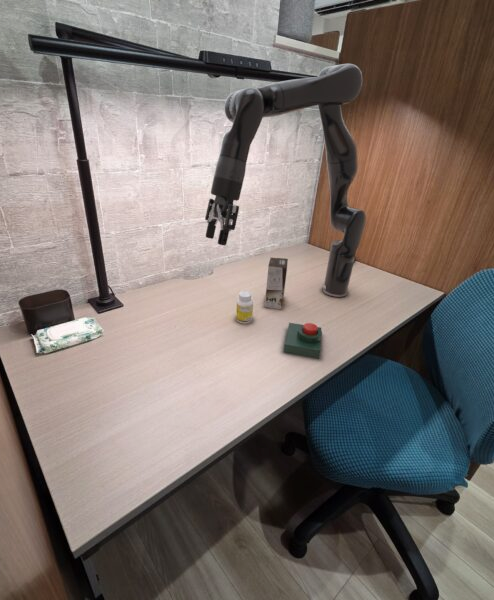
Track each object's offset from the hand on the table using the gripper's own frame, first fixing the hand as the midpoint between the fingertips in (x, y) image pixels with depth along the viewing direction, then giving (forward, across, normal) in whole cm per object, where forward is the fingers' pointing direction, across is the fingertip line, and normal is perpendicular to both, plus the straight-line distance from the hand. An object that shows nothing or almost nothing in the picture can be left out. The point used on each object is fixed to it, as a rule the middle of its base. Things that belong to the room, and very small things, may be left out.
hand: (215, 241), depth 85 cm
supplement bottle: (+25, +5, -19) cm, 32 cm away
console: (+24, -14, -29) cm, 40 cm away
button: (+19, -15, -29) cm, 38 cm away
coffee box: (+21, +12, -34) cm, 42 cm away
